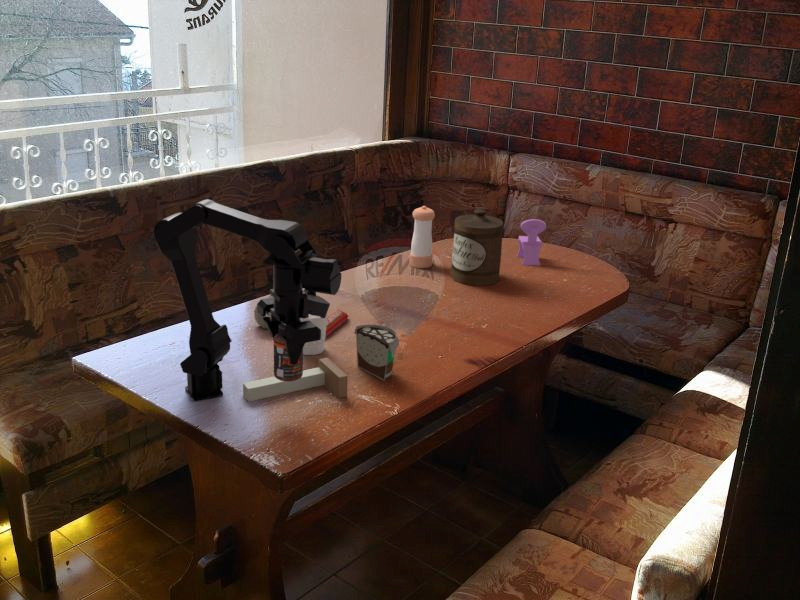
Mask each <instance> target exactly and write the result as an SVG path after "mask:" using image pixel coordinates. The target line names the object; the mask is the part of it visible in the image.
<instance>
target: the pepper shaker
mask: <svg viewBox="0 0 800 600" xmlns="http://www.w3.org/2000/svg"><path fill="white" fill-rule="evenodd" d="M435 216H436V213H435V211H434V210H433V209H431V208H430V207H427V206H426V205H422V206H421V207H418V208H415V209H414V210H413V211H412V218H413V219H414V225H413V235H412V239H411V243H410V244H411V245H410V246H411V249H410V250H411V251H410V252H409V266H411V267H413V268H418V269H427V268H430V267H432V266H433V258H434V257H433V253H432V252H433V237H432V230H433V228H432V227H433V224H432V223H433V220H434V219H435Z"/></svg>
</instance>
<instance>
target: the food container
mask: <svg viewBox="0 0 800 600" xmlns="http://www.w3.org/2000/svg"><path fill="white" fill-rule="evenodd" d="M353 334H354V335H355V339H356V340H355V341H356V361H357V363H356V366H357V367H358V369H361V370H362V371H364V372H367V373H368V374H370V375H372V376H374V377H377V378H378V379H379V380H381V381H383V382H385V381H388V380H389V379H390V378H392V374H393V367H394V364H395V363H394V361H395V355H396V349H398V347H399V346H400V342H399V336H398V334H397V332H396V331H395V330H394V329H393V328H391V327H388V326H385V325H381V324H360V325H356V326H355V329H354V333H353Z"/></svg>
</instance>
